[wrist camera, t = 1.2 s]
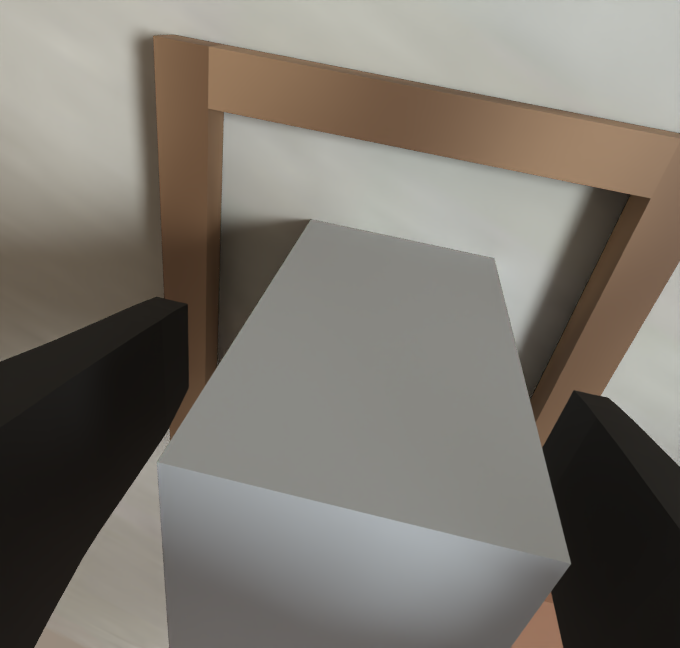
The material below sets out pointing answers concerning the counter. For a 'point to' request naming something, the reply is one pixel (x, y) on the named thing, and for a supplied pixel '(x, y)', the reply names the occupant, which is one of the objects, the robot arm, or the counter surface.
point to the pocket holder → (424, 136)
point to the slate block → (362, 462)
